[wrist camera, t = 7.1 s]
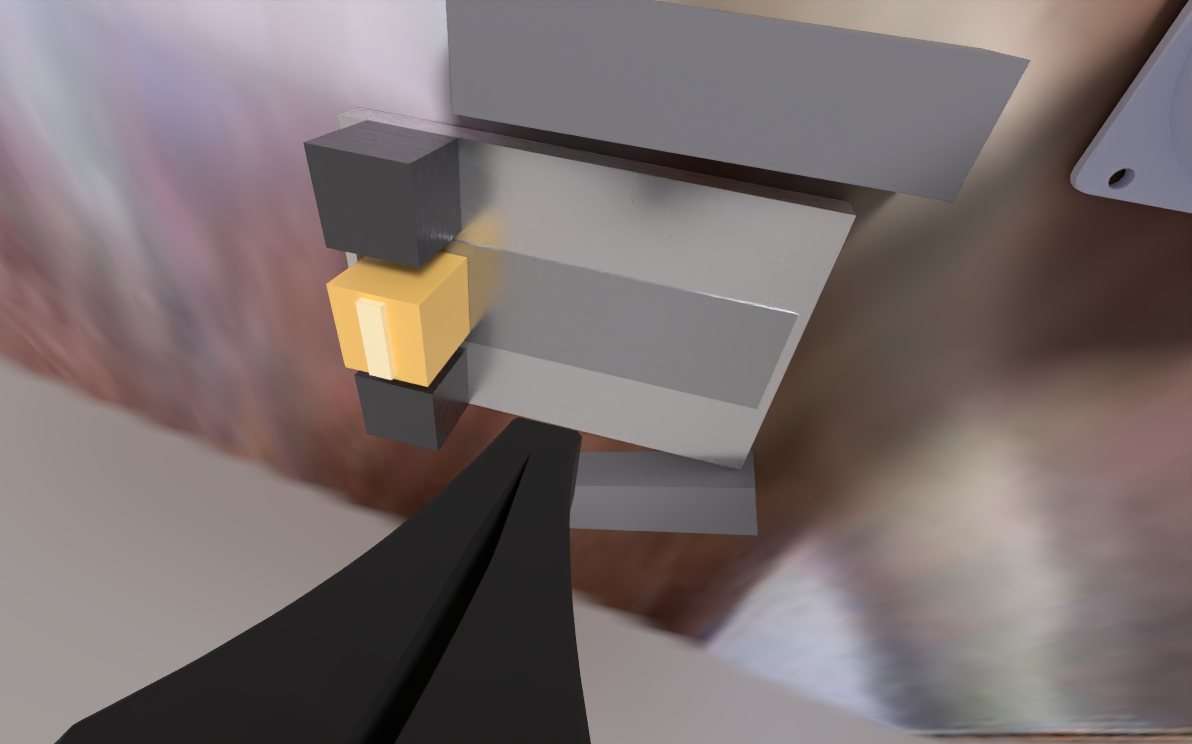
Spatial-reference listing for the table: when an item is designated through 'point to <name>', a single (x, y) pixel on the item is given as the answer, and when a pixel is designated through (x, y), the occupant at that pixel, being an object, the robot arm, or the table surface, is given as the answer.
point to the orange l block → (401, 316)
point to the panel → (582, 281)
